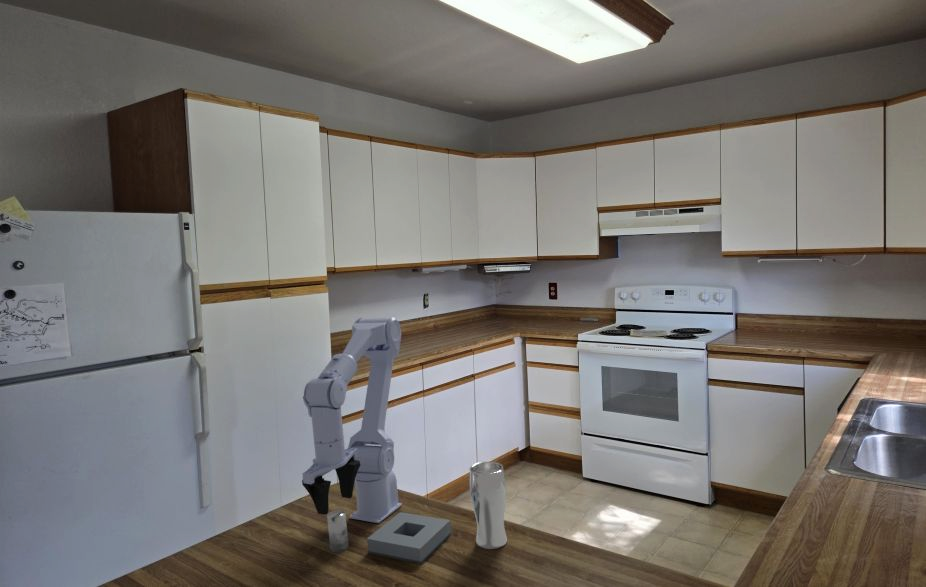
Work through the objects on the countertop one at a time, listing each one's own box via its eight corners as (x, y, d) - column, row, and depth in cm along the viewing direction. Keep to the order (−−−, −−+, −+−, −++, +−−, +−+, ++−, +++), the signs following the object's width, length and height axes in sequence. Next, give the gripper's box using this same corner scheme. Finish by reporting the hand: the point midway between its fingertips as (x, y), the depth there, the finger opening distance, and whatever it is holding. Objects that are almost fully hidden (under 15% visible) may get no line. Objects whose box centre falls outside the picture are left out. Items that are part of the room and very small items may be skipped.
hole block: (401, 525, 132) (400, 512, 132) (451, 534, 127) (450, 520, 126) (368, 553, 122) (366, 538, 121) (421, 564, 116) (419, 548, 116)
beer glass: (515, 544, 121) (510, 469, 119) (482, 553, 118) (476, 477, 117) (500, 529, 127) (495, 458, 126) (468, 538, 125) (463, 465, 123)
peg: (337, 541, 127) (334, 509, 126) (352, 544, 126) (349, 511, 125) (326, 550, 124) (323, 516, 123) (341, 553, 122) (337, 519, 122)
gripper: (335, 425, 131) (341, 488, 132) (287, 449, 118) (294, 518, 119) (363, 428, 128) (369, 492, 129) (316, 452, 115) (323, 523, 116)
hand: (335, 505), depth 124 cm, fingers open, 7 cm apart
